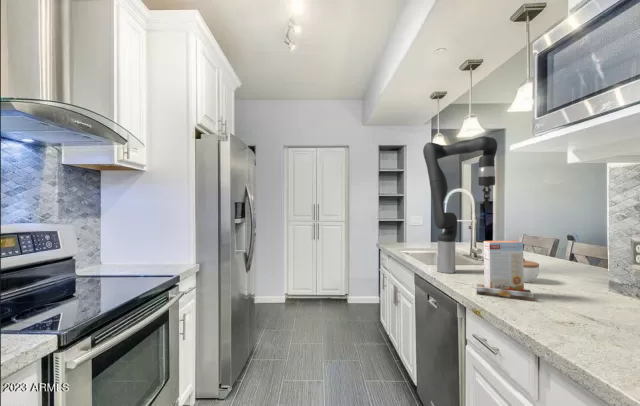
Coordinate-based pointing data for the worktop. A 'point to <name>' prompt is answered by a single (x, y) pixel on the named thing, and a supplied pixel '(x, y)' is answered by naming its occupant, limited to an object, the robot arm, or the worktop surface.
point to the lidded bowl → (530, 270)
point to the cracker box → (503, 265)
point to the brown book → (505, 293)
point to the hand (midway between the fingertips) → (486, 207)
